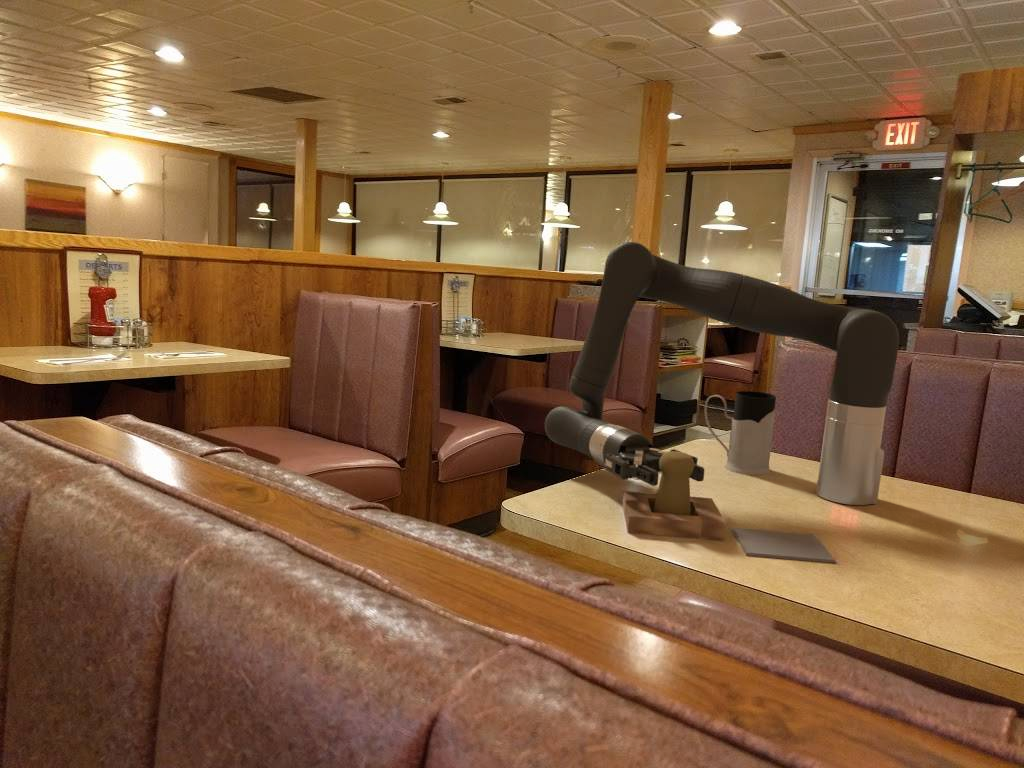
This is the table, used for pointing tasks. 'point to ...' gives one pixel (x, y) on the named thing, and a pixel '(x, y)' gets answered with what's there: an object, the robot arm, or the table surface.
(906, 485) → the table surface
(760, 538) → the rubber mat
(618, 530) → the table surface
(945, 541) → the table surface
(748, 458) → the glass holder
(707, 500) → the socket block
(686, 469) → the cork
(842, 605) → the table surface
